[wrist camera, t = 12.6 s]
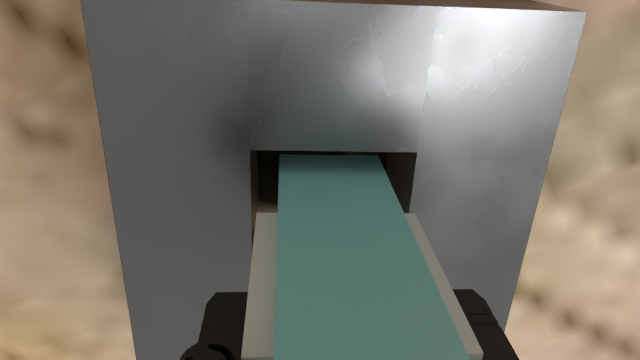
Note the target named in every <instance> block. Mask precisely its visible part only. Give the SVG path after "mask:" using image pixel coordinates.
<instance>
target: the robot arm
mask: <svg viewBox="0 0 640 360" xmlns="http://www.w3.org/2000/svg"><path fill="white" fill-rule="evenodd" d="M404 214H405V216H406V219H407V221H408V223H409V225H410V227H411V230H412V232H413V234H414V236H415V239H416V241H417V243H418V245H419V248H420V250H421V252H422V254H423V256H424V259H425V261H426V263H427V265H428V268H429V270H430V272H431V274H432V276H433V279H434V281H435V283H436V285H437V288H438V290H439V292H440V294H441V297H442V299H443V301H444V303H445V305H446V308H447V310H448V312H449V314H450V317H451V319H452V321H453V323H454V325H455V328H456V330H457V332H458V334H459V337H460V339H461V341H462V343H463V346H464V348H465V350H466V352H467V354H468V357H469V359H470V360H519V358H518V357H517V355H516V353H515V351H514V349H513V348H512V346H511V344H510V342H509V341H508V339H507V337H506V335H505V334H504V332H503V330H502V328H501V327H500V326H499V323H498V321H497V320H496V318H495V316H494V315H493V313H492V311H491V309H490V307H489V306H488V304H487V302H486V300H485V299H483V298H482V297H481V296H480V295H479V294H478V293H476V292H475V291H474V290H473V289H452V288H451V286H450V284H449V282H448V280H447V278H446V276H445V274H444V271H443V269H442V267H441V265H440V263H439V261H438V259H437V257H436V255H435V253H434V251H433V249H432V247H431V245H430V243H429V241H428V239H427V237H426V235H425V233H424V231H423V229H422V227H421V225H420V222H419V220H418V218H417V216H416V214H415V213H404ZM277 220H278V213H257V214H256V223H255V232H254V242H253V251H252V260H251V269H250V279H249V288H248V292H216V293H215V294H214V295H213V296H212V298H211V299H210V300H209V301H208V302H207V304H206V308H205V312H204V317H203V321H202V326H201V331H200V335H199V339H198V343H196V344H194V345H193V346H191V347H190V348H188V349H187V350H186V351H185V352H184V353H183V355H182V356H181V357H180V360H274V326H275V291H276V256H277Z"/></svg>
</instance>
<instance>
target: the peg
mask: <svg viewBox="0 0 640 360" xmlns="http://www.w3.org/2000/svg"><path fill="white" fill-rule="evenodd" d="M274 360H470V359H469V357H468V354H467V352H466V350H465V348H464V346H463V343H462V341H461V339H460V337H459V334H458V332H457V330H456V328H455V325H454V323H453V321H452V319H451V317H450V314H449V312H448V310H447V308H446V305H445V303H444V301H443V299H442V297H441V294H440V292H439V290H438V288H437V285H436V283H435V281H434V279H433V276H432V274H431V272H430V270H429V268H428V265H427V263H426V261H425V259H424V256H423V254H422V252H421V250H420V248H419V245H418V243H417V241H416V239H415V236H414V234H413V232H412V230H411V227H410V225H409V223H408V221H407V219H406V216H405V214H404V212H403V210H402V207H401V205H400V203H399V201H398V199H397V196H396V194H395V192H394V190H393V187H392V185H391V183H390V181H389V179H388V176H387V174H386V172H385V170H384V167H383V165H382V163H381V161H380V158H379V156H361V155H292V154H279V185H278V220H277V256H276V291H275V326H274Z"/></svg>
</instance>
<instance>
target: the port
mask: <svg viewBox="0 0 640 360" xmlns="http://www.w3.org/2000/svg"><path fill="white" fill-rule="evenodd" d="M80 1H81V8H82V14H83V21H84V27H85V33H86V40H87V46H88V53H89V59H90V65H91V72H92V78H93V85H94V91H95V97H96V104H97V110H98V117H99V123H100V129H101V136H102V142H103V149H104V155H105V161H106V168H107V174H108V181H109V187H110V193H111V200H112V206H113V213H114V219H115V225H116V232H117V238H118V245H119V251H120V258H121V264H122V270H123V277H124V283H125V290H126V296H127V302H128V309H129V315H130V322H131V328H132V334H133V341H134V347H135V354H136V360H180V357H181V356H182V355H183V353H184V352H185V351H186V350H187V349H188V348H190V347H191V346H193V345H194V344H196V343H198V339H199V335H200V331H201V326H202V321H203V317H204V312H205V308H206V304H207V302H208V301H209V300H210V299H211V298H212V296H213V295H214V294H215V293H216V292H248V288H249V279H250V269H251V260H252V251H253V242H254V232H255V223H256V214H257V213H258V183H257V150H284V151H352V152H388V161H387V170H386V174H387V176H388V179H389V181H390V183H391V185H392V187H393V190H394V192H395V194H396V196H397V199H398V201H399V203H400V205H401V207H402V210H403V212H404V213H415V214H416V216H417V218H418V220H419V222H420V225H421V227H422V229H423V231H424V233H425V235H426V237H427V239H428V241H429V243H430V245H431V247H432V249H433V251H434V253H435V255H436V257H437V259H438V261H439V263H440V265H441V267H442V269H443V271H444V274H445V276H446V278H447V280H448V282H449V284H450V286H451V288H452V289H473V290H474V291H475V292H476V293H478V294H479V295H480V296H481V297H482V298H483V299H485V300H486V302H487V304H488V306H489V307H490V309H491V311H492V313H493V315H494V316H495V318H496V320H497V321H498V323H499V326H500V327H501V328H502V330H503V332H504V331H505V327H506V323H507V319H508V315H509V312H510V308H511V304H512V300H513V296H514V292H515V288H516V285H517V281H518V277H519V273H520V269H521V265H522V261H523V258H524V254H525V250H526V246H527V242H528V238H529V235H530V231H531V227H532V223H533V219H534V215H535V211H536V208H537V204H538V200H539V196H540V192H541V188H542V184H543V181H544V177H545V173H546V169H547V165H548V161H549V157H550V154H551V150H552V146H553V142H554V138H555V134H556V130H557V127H558V123H559V119H560V115H561V111H562V107H563V103H564V100H565V96H566V92H567V88H568V84H569V80H570V76H571V73H572V69H573V65H574V61H575V57H576V53H577V50H578V46H579V42H580V38H581V34H582V30H583V26H584V23H585V19H586V15H587V12H584V11H579V10H575V9H570V8H565V7H560V6H555V5H550V4H546V3H541V2H536V1H531V0H80Z"/></svg>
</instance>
